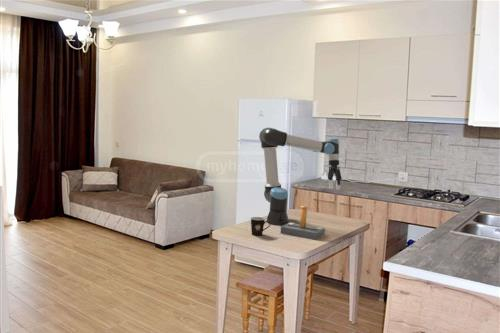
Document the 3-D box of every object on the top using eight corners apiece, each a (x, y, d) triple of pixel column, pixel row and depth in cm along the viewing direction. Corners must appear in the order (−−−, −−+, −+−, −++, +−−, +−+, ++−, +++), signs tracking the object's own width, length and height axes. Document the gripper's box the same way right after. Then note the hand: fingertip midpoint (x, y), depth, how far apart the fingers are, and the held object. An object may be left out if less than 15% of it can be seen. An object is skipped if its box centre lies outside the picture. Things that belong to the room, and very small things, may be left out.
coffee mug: (247, 235, 269) (248, 219, 268) (252, 231, 277) (253, 216, 276) (265, 237, 265) (266, 221, 264) (270, 234, 273) (271, 218, 272)
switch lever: (298, 232, 277) (299, 206, 275) (300, 231, 281) (302, 205, 279) (304, 233, 275) (306, 207, 273) (307, 232, 279) (308, 206, 277)
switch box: (280, 233, 278) (280, 226, 277) (289, 228, 290) (289, 222, 289) (316, 239, 267) (317, 232, 266) (324, 234, 279) (324, 227, 278)
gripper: (345, 159, 309) (346, 189, 309) (332, 160, 333) (332, 188, 333) (335, 159, 307) (336, 190, 307) (322, 160, 332) (323, 188, 332)
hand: (334, 189), depth 320 cm, fingers open, 13 cm apart
